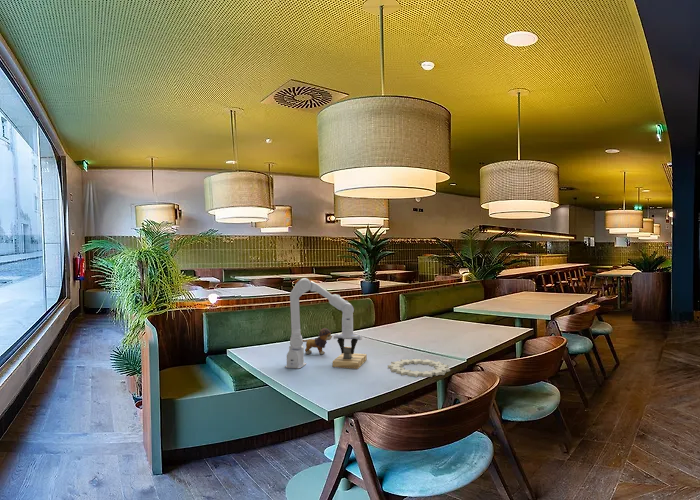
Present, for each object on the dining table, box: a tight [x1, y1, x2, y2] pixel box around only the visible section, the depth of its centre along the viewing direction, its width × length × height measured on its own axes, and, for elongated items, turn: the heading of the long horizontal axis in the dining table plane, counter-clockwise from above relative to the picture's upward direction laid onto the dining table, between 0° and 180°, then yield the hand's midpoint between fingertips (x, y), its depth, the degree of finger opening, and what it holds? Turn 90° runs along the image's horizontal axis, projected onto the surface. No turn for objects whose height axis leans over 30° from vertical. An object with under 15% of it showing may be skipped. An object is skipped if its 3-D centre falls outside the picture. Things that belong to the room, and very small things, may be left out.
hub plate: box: [332, 352, 368, 370], centre depth 228 cm, size 18×13×3 cm
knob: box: [343, 346, 352, 359], centre depth 227 cm, size 5×5×7 cm
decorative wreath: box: [387, 358, 451, 378], centre depth 217 cm, size 30×2×30 cm
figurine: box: [303, 327, 334, 355], centre depth 249 cm, size 7×22×15 cm, turn 78°
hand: (347, 353), depth 227 cm, fingers closed on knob, 5 cm apart
